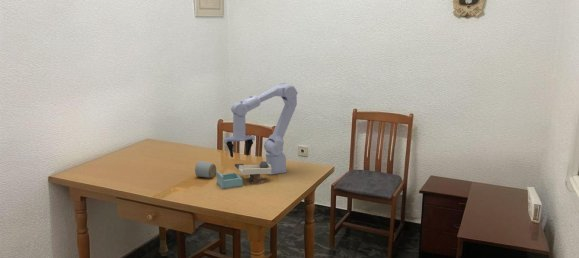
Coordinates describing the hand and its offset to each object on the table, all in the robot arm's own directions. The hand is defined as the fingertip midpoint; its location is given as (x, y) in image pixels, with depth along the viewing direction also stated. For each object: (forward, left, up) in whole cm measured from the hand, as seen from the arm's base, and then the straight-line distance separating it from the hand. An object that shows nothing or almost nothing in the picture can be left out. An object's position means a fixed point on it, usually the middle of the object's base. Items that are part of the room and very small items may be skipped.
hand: (239, 155), depth 236 cm
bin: (+8, +8, -11) cm, 16 cm away
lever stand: (-5, +8, -11) cm, 14 cm away
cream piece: (-4, +5, -6) cm, 9 cm away
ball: (-9, +8, -3) cm, 13 cm away
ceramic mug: (+14, -8, -11) cm, 19 cm away
